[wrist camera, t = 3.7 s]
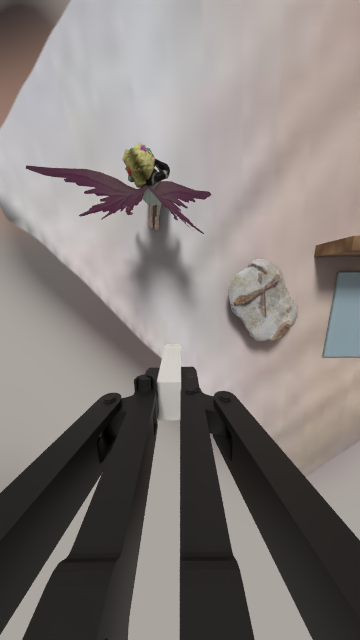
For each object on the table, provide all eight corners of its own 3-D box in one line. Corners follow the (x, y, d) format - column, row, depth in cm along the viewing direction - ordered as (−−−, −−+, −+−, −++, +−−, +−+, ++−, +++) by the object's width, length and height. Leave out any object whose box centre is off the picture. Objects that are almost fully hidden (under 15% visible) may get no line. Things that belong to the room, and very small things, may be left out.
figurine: (205, 186, 25) (240, 53, 10) (197, 246, 27) (217, 206, 12) (110, 173, 25) (5, 18, 10) (108, 234, 26) (18, 180, 12)
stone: (213, 288, 28) (218, 288, 24) (262, 251, 27) (274, 246, 24) (254, 346, 29) (264, 353, 26) (300, 313, 29) (316, 316, 25)
